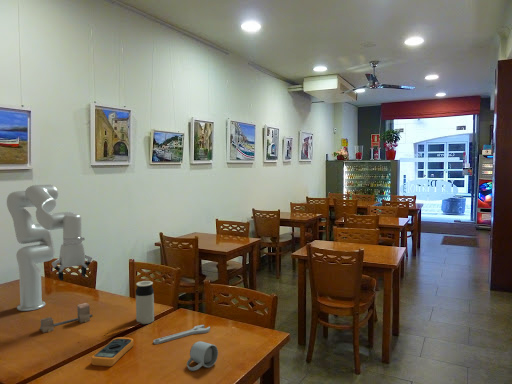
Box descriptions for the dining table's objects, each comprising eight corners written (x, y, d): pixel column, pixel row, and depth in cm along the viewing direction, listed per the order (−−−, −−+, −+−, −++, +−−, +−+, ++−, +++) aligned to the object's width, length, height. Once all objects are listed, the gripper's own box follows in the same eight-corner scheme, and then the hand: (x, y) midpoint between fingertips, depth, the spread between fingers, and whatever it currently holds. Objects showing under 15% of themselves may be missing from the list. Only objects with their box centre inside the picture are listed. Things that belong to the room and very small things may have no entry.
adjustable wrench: (154, 346, 154) (154, 342, 154) (150, 340, 160) (150, 336, 160) (211, 332, 167) (211, 328, 167) (205, 327, 173) (205, 323, 173)
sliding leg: (77, 320, 176) (77, 304, 176) (86, 318, 179) (86, 302, 179) (81, 323, 173) (80, 307, 172) (90, 321, 176) (90, 305, 175)
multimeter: (135, 345, 154) (135, 337, 154) (112, 368, 137) (111, 358, 137) (115, 344, 156) (115, 335, 156) (89, 366, 138) (89, 357, 138)
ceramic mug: (202, 355, 145) (202, 336, 144) (218, 362, 140) (218, 342, 139) (181, 367, 137) (180, 346, 136) (197, 375, 132) (197, 353, 131)
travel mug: (157, 319, 181) (157, 281, 180) (146, 325, 173) (145, 286, 172) (144, 316, 184) (143, 279, 183) (132, 322, 177) (131, 284, 176)
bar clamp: (40, 329, 167) (39, 318, 167) (91, 316, 182) (91, 306, 182) (43, 333, 163) (43, 322, 162) (96, 320, 178) (96, 309, 177)
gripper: (88, 237, 184) (88, 272, 185) (49, 242, 172) (49, 279, 174) (94, 240, 179) (94, 276, 180) (54, 245, 167) (54, 283, 168)
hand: (72, 277), depth 177 cm, fingers open, 9 cm apart
